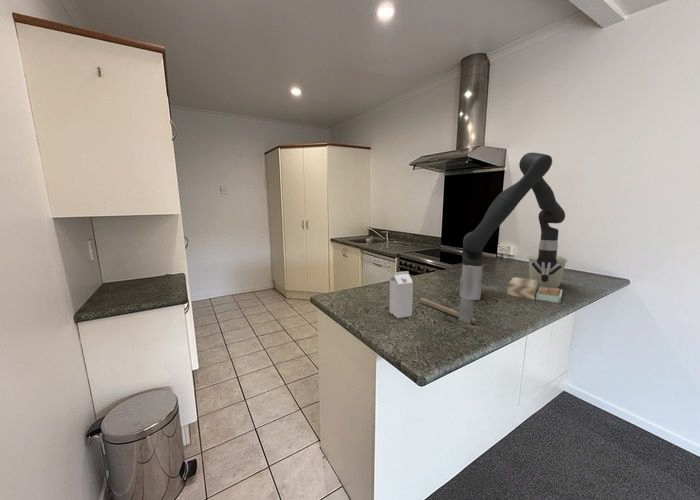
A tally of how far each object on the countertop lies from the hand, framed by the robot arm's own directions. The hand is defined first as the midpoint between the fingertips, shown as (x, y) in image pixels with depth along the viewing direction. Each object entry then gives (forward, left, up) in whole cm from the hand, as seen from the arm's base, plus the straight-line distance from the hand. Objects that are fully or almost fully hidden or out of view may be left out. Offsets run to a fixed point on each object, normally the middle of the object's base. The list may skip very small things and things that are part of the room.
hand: (544, 281), depth 140 cm
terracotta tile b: (+4, 0, -3) cm, 5 cm away
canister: (-1, +16, -7) cm, 17 cm away
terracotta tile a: (-1, -6, -4) cm, 8 cm away
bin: (+3, -4, -7) cm, 8 cm away
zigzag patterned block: (-9, -4, -7) cm, 12 cm away
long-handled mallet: (-31, -55, -7) cm, 64 cm away
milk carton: (-45, -69, -7) cm, 83 cm away
